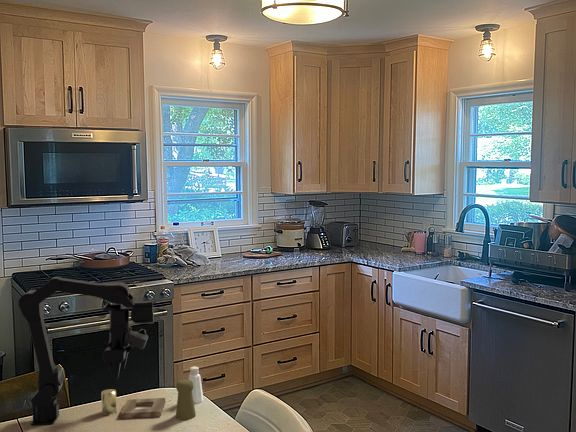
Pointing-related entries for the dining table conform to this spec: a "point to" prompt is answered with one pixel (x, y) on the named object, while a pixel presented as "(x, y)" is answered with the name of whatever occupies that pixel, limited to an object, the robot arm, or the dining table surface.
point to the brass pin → (109, 401)
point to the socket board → (143, 408)
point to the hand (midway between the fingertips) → (119, 374)
